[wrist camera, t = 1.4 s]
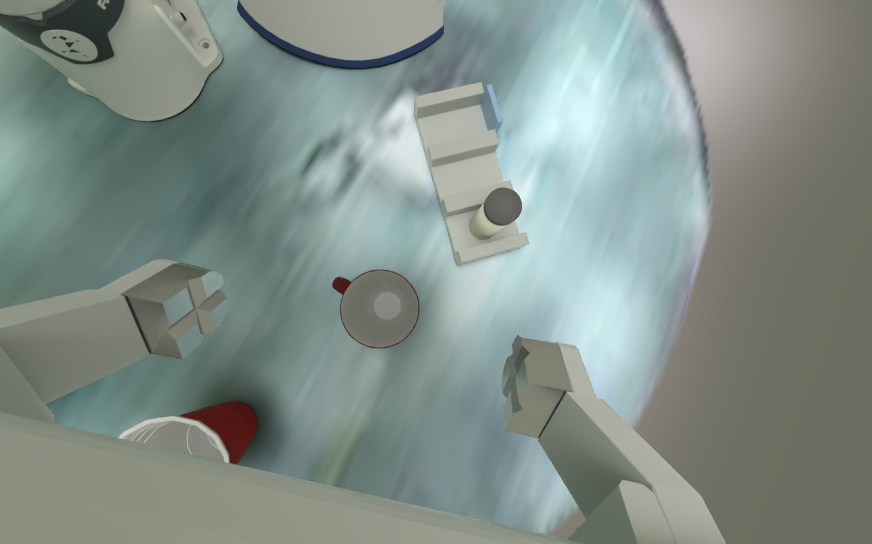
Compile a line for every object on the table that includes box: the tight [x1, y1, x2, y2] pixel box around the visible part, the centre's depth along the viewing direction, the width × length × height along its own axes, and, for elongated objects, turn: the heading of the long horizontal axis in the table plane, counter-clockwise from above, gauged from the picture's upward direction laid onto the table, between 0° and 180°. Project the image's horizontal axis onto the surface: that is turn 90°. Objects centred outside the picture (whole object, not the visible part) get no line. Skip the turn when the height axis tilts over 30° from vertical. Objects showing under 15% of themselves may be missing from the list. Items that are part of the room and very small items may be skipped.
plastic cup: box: [119, 402, 258, 465], centre depth 34 cm, size 11×11×12 cm
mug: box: [332, 270, 419, 348], centre depth 37 cm, size 11×8×10 cm
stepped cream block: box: [414, 82, 529, 265], centre depth 42 cm, size 22×10×6 cm, turn 16°
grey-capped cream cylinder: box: [469, 187, 522, 240], centre depth 38 cm, size 4×4×10 cm
